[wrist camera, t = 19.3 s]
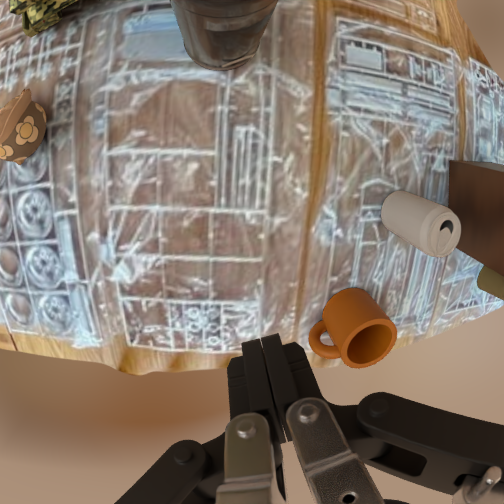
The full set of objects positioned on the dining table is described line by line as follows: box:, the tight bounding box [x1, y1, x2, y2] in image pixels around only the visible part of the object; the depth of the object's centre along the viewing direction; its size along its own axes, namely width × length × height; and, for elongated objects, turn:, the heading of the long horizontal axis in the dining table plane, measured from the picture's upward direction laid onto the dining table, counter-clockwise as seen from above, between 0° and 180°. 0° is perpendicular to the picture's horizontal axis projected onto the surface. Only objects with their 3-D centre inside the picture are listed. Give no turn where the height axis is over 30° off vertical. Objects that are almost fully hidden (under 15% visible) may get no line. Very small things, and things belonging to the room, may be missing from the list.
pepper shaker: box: [477, 265, 504, 300], centre depth 43 cm, size 6×6×11 cm
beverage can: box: [381, 191, 461, 258], centre depth 36 cm, size 6×6×12 cm
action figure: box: [0, 89, 46, 165], centre depth 27 cm, size 10×11×15 cm
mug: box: [309, 288, 397, 368], centre depth 42 cm, size 9×12×9 cm
